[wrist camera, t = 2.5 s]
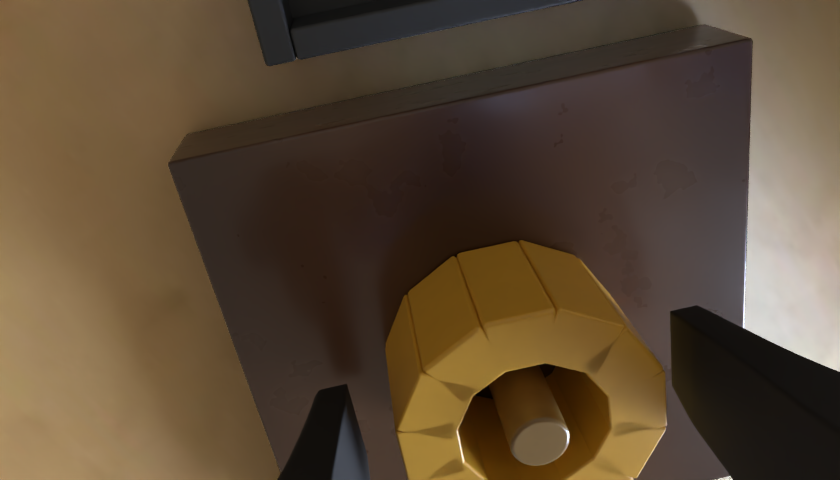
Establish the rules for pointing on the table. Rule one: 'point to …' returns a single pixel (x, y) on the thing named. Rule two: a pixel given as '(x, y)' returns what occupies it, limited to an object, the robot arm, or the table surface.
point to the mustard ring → (515, 349)
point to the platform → (478, 222)
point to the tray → (365, 22)
